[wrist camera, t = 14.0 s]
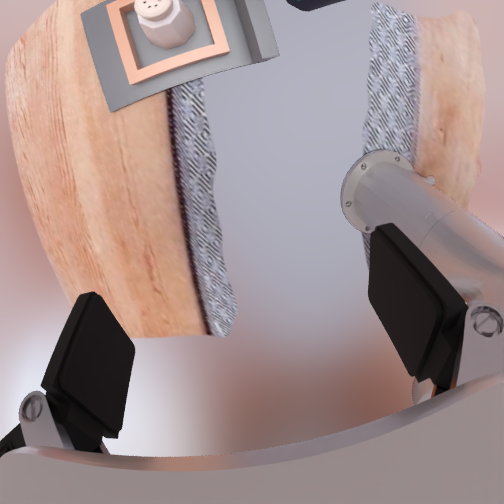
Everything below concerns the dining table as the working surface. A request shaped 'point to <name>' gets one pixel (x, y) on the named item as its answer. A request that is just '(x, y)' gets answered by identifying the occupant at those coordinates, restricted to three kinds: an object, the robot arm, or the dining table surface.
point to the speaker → (311, 4)
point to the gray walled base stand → (177, 58)
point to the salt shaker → (165, 22)
